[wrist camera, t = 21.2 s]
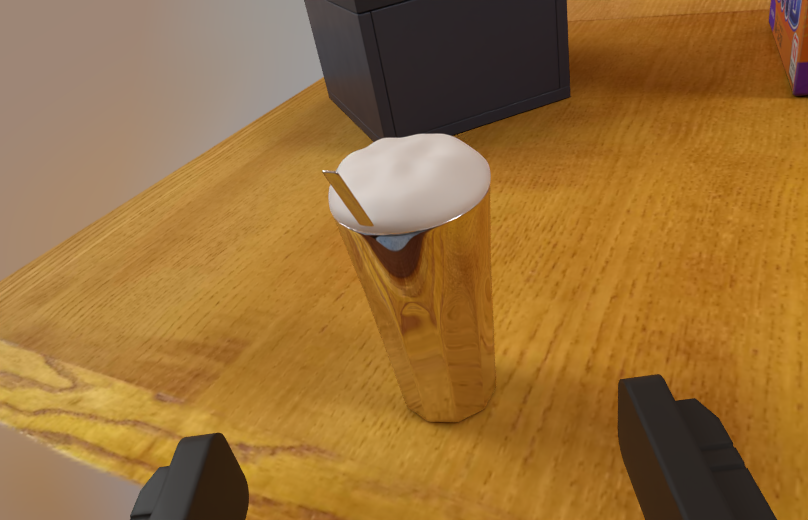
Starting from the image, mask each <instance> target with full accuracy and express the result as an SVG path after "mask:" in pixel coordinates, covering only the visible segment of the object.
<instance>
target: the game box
mask: <svg viewBox="0 0 808 520" xmlns="http://www.w3.org/2000/svg"><path fill="white" fill-rule="evenodd" d="M769 24H770V26H771V29H772V32H773V35H774V38H775V41H776V44H777V47H778V50H779V53H780V56H781V59H782V62H783V65H784V68H785V70H786V74H787V77H788V80H789V83H790V86H791V89H792V93H793V95H796V96H800V95H808V0H771V6H770V14H769Z"/></svg>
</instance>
